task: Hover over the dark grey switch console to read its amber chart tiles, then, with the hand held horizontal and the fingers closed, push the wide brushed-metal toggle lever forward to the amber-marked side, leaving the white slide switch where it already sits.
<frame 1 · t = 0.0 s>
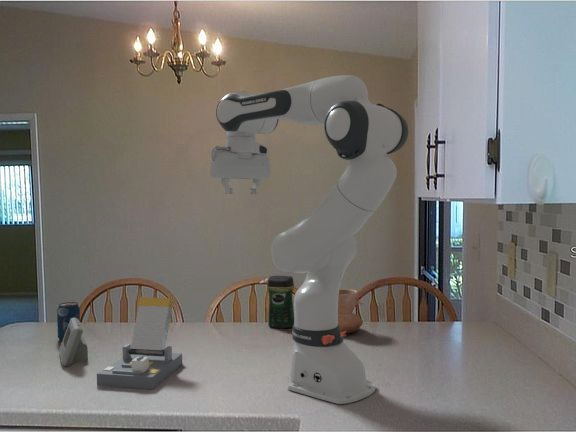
hand: (241, 194, 140), 48 cm above the kitchen counter, tool pointing down, fingers open, 8 cm apart
digital clock: (71, 359, 137), on the kitchen counter
slide switch: (140, 363, 118), point 5 cm above the kitchen counter, slide at 2.5 cm
lever: (151, 326, 130), point 11 cm above the kitchen counter, hinge at -25.0°
console: (142, 374, 124), on the kitchen counter
soda can: (69, 339, 157), on the kitchen counter
coffee jar: (281, 326, 171), on the kitchen counter
ceramic jug: (338, 331, 163), on the kitchen counter
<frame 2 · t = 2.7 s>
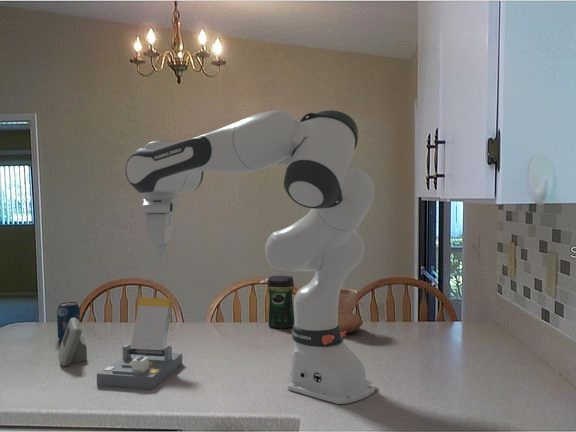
hand: (161, 259, 119), 31 cm above the kitchen counter, tool pointing down, fingers closed
nothing on the kitchen counter moved.
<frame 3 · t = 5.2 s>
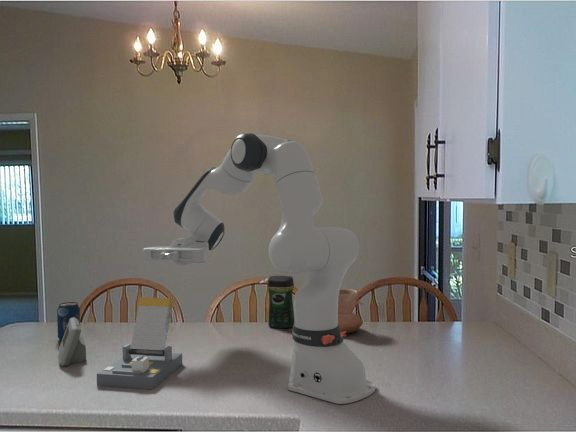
hand: (164, 256, 138), 30 cm above the kitchen counter, tool horizontal, fingers closed
nothing on the kitchen counter moved.
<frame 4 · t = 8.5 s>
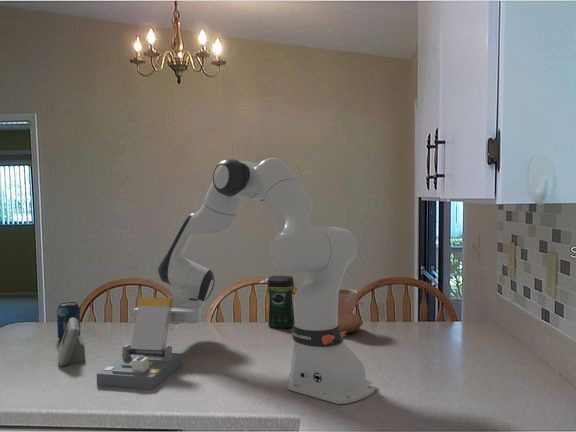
hand: (155, 320, 132), 12 cm above the kitchen counter, tool horizontal, fingers closed, pressing on lever
lever: (151, 326, 130), point 11 cm above the kitchen counter, hinge at -24.5°, touching gripper
everything else where it was.
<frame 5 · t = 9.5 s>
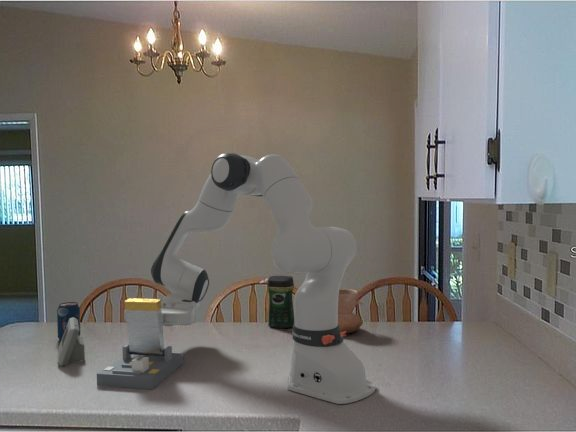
hand: (146, 322, 127), 13 cm above the kitchen counter, tool horizontal, fingers closed, pressing on lever
lever: (145, 327, 126), point 12 cm above the kitchen counter, hinge at 7.4°, touching gripper
everything else where it was.
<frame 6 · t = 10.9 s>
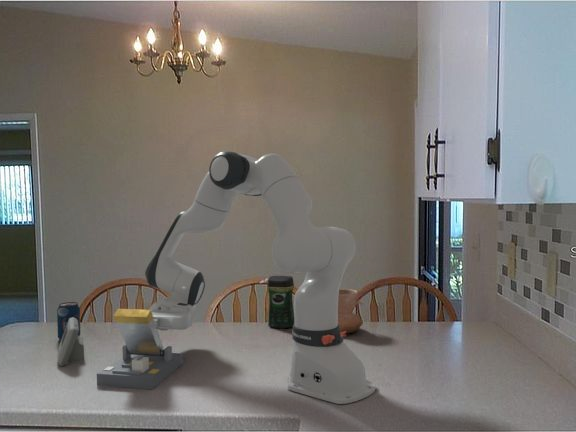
hand: (141, 326, 124), 13 cm above the kitchen counter, tool horizontal, fingers closed, pressing on lever
lever: (140, 334, 123), point 11 cm above the kitchen counter, hinge at 31.2°, touching gripper
everything else where it was.
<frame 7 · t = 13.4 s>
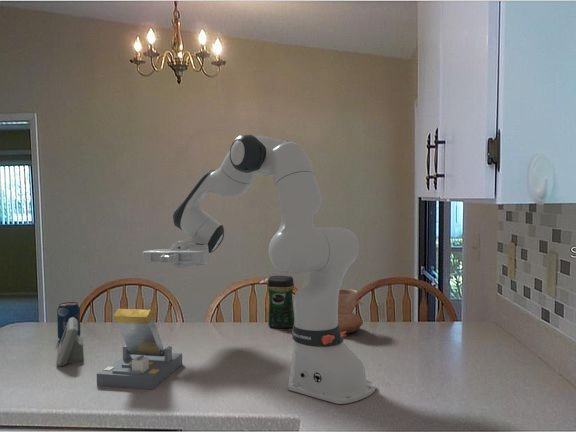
hand: (164, 259, 138), 29 cm above the kitchen counter, tool horizontal, fingers closed
lever: (140, 334, 123), point 11 cm above the kitchen counter, hinge at 31.2°
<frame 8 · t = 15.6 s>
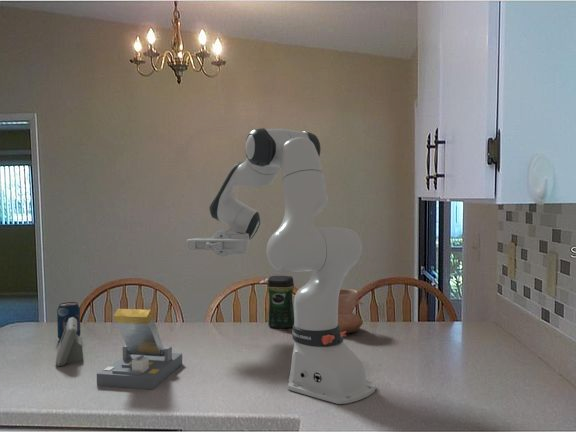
hand: (210, 246, 143), 32 cm above the kitchen counter, tool horizontal, fingers closed
at the end: lever at +31° (first picture: -25°); slide switch slide at 2.5 cm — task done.
